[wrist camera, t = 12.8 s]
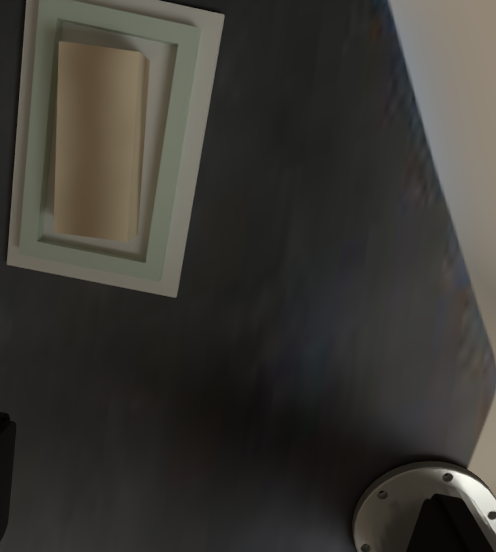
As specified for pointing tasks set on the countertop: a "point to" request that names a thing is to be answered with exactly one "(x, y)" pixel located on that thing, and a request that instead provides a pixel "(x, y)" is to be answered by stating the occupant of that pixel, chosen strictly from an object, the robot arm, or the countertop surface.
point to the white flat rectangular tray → (157, 145)
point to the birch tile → (99, 140)
